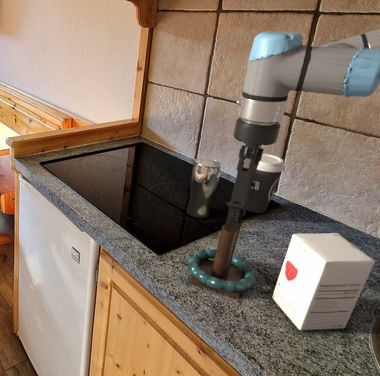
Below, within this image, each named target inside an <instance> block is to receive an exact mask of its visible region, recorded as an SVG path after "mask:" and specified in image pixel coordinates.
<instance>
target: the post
mask: <svg viewBox="0 0 380 376" xmlns="http://www.w3.org/2000/svg"><path fill="white" fill-rule="evenodd" d="M240 231H241V229H240V230H239V229H238V228H237V227H235V226H233V225H226V224H224V225H222V226H221V229H220V233H219V237H218V243H217V246H216V249H215V250H216V255H215V259H204V260H202V261H200V262H199V266H200V268H201V270H202V271H204V272H206V273H207V274H209V275H210V276H212V277H215V278H218V279H221V280H225V281H240V280H242V279H244V278H245V274H244V272H243V271H242V270H241V268H239V267H237V266H233V265H232V263H231V262H232V258H233V254H235V249H236V246H237V242H238V239H239V235H240ZM192 276H193V275H192ZM191 284H193V285H197V286H200V287H203V288H205V289H209V290H212V291H214V292H218V293H221V294H223V295H224V294H225V295H227V296H229V297H233V298H236V299H239V298H240V296H241V295H240V294H241V291H223V290H219V289H216V288H213V287H210V286H207V285H206V284H204V283H203V282H201V281H200V280H198V279H197V278H195V277H194V276H193V277H192V279H191Z"/></svg>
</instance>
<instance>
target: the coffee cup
mask: <svg viewBox="0 0 380 376" xmlns="http://www.w3.org/2000/svg"><path fill="white" fill-rule="evenodd" d="M285 170H286V166H285V162H284V159H283V158H282V157H279V156H277V155H274V154H270V153H265V152H263V154H262V157H261V160H260V162H259V165H258V167H257V171H256V174H254V179H253V181H252V182H255V183H256V185H255V187H250V186H249V188H251V192H250V196H249V200H248V204H247V208H246V211H248V212H251V213H256V214H262V213H265V212H267V209H268V206H269V204H270V202H271V199H272V197H273V194H274V192H275V189H276V187H277V184H278V182H279V179H280V177H281V174H282V172H284V171H285Z"/></svg>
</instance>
